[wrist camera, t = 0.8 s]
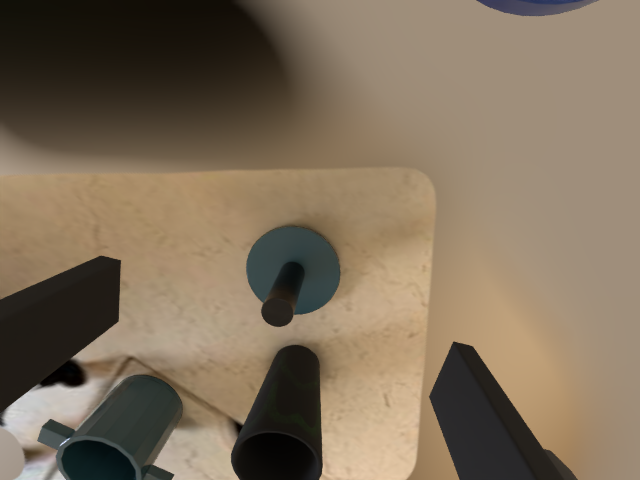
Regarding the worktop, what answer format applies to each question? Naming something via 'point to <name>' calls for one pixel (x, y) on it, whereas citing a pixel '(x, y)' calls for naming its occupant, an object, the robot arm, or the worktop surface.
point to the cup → (283, 422)
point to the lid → (292, 273)
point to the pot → (118, 434)
